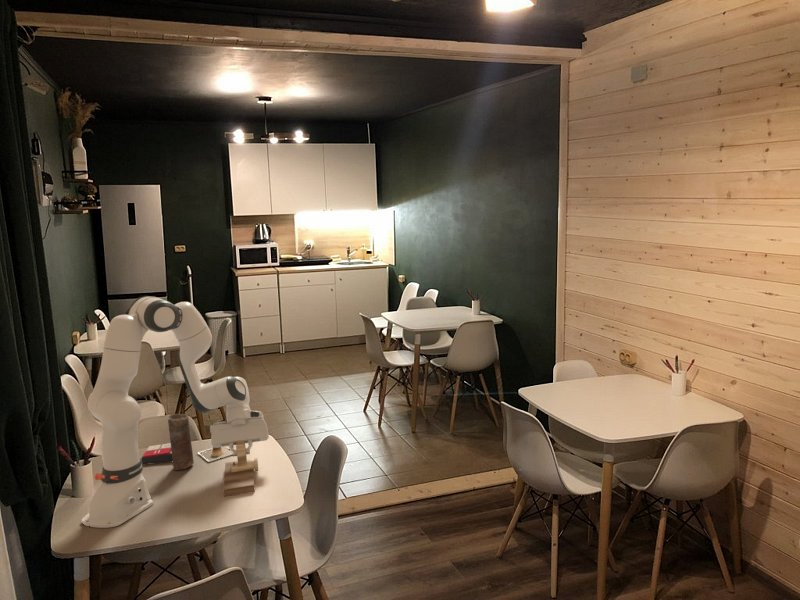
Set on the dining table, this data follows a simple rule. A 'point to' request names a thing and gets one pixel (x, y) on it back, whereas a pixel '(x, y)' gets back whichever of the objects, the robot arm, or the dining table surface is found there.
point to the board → (238, 481)
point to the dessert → (215, 452)
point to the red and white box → (157, 454)
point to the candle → (180, 441)
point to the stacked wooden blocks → (243, 459)
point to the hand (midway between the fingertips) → (241, 454)
